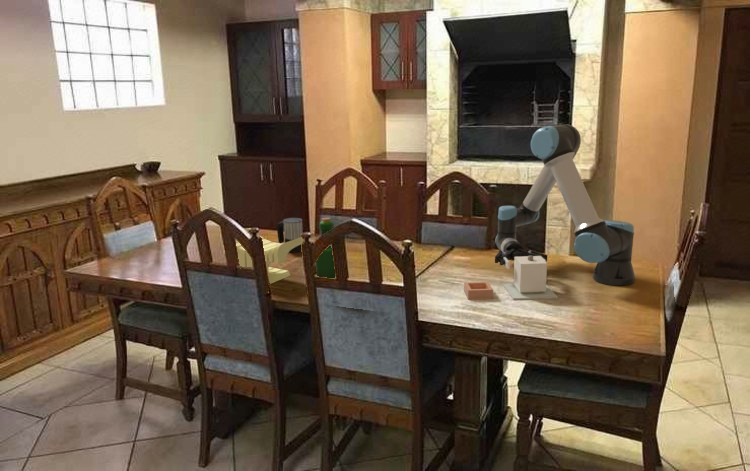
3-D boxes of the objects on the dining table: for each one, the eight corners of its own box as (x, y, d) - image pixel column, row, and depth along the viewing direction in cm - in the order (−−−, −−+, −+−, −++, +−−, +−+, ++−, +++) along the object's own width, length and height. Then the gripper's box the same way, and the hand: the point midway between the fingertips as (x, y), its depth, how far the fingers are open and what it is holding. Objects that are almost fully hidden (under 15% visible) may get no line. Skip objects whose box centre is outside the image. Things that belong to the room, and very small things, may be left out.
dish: (487, 290, 225) (488, 281, 224) (493, 298, 217) (493, 289, 216) (463, 291, 225) (464, 282, 224) (468, 299, 216) (468, 290, 216)
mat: (544, 283, 231) (544, 282, 231) (557, 298, 215) (557, 296, 215) (502, 285, 231) (502, 283, 230) (513, 299, 215) (513, 298, 215)
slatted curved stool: (225, 278, 248) (221, 236, 244) (253, 267, 261) (249, 228, 256) (279, 290, 232) (276, 245, 227) (306, 278, 245) (304, 236, 240)
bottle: (348, 287, 233) (345, 216, 226) (335, 295, 224) (331, 222, 217) (324, 283, 238) (320, 214, 231) (310, 292, 228) (306, 220, 221)
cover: (538, 285, 228) (539, 252, 224) (545, 293, 218) (547, 259, 215) (513, 286, 227) (514, 253, 224) (519, 294, 218) (521, 260, 215)
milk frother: (307, 247, 290) (305, 217, 287) (294, 257, 276) (292, 225, 272) (279, 246, 294) (277, 217, 290) (266, 255, 279) (263, 224, 275)
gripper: (542, 257, 246) (559, 273, 225) (481, 259, 245) (493, 275, 224) (543, 239, 244) (560, 254, 223) (481, 241, 243) (493, 256, 223)
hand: (526, 264), depth 224 cm, fingers open, 13 cm apart
